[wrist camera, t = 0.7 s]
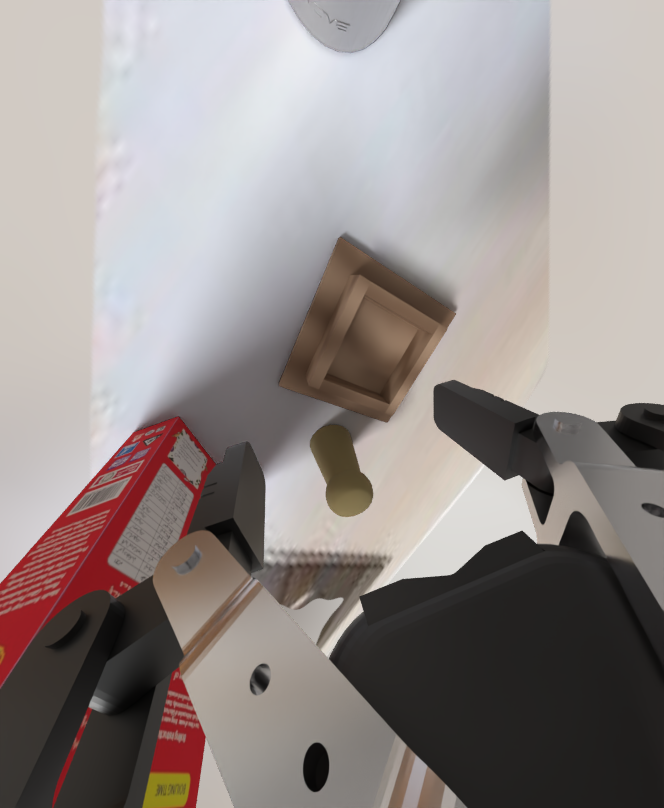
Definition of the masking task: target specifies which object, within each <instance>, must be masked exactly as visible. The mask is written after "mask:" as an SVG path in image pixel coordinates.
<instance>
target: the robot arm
mask: <svg viewBox="0 0 664 808" xmlns="http://www.w3.org/2000/svg"><path fill="white" fill-rule="evenodd" d="M288 1H289V3H290V5H291V7H292V8H293V10H294V12H295V14H296V15H297V17H298V19H299V20H300V22H301V23H302V24H303V25H304V27H305V28H306V29H307V30H308V31H309V33H310V34H311V35H312V36H313V37H314V38H316V39H317V40H318V41H319V42H321V43H322V44H323V45H324V46H326V47H329V48H331V49H333V50H335V51H338V52H349V53H351V52H355V51H359V50H362V49H364V48H366V47H367V46H369V45H370V44H372V43H373V42H375V41H376V39H377V38H378V37H379V36H380V35H381V34H382V32H383V31H384V30H385V29H386V27H387V25H388V23H389V22H390V20H391V18H392V16H393V14H394V12H395V10H396V8H397V6H398V4H399V2H400V0H288ZM434 421H435V423H436V425H437V427H438V428H439V429H440V430H441V431H442V432H443V433H445V434H446V435H447V436H449V437H450V438H451V439H452V440H454V441H455V442H456V443H457V444H459V445H460V446H461V447H463V448H464V449H465V450H466V451H468V452H469V453H470V454H472V455H473V456H474V457H475V458H477V459H478V460H479V461H480V462H482V463H483V464H484V465H486V466H487V467H488V468H490V469H491V470H492V471H493V472H495V473H496V474H497V475H498V476H500V477H501V478H502V479H503V480H507V479H510V478H512V477H515V476H518V475H520V476H521V477H523V480H522V488H523V492H524V495H525V498H526V501H527V504H528V507H529V511H530V514H531V517H532V520H533V524H534V527H535V530H536V534H537V544H536V543H535V542H534V541H533V540H532V539H530V537H528V536H527V535H526V534H525V533H524V532H523V531H520V532H518V533H515V534H513V535H510V536H508V537H505V538H503V539H501V540H498V541H496V542H493V543H491V544H488V545H485V546H484V547H483V548H482V549H481V550H480V551H479V552H478V553H477V554H475V555H474V556H473V557H472V558H471V559H470V560H469V561H468V562H467V563H466V564H465V565H464V566H463V567H462V568H460V569H459V570H458V571H457V572H456V573H454V574H452V575H448V576H435V577H425V578H424V577H423V578H411V579H402V580H399V581H397V582H394V583H392V584H389V585H387V586H384V587H382V588H379V589H377V590H375V591H372V592H370V593H367V594H365V595H362V596H360V600H361V604H362V607H363V611H364V612H362V613H361V614H360V615H359V616H358V617H357V618H356V619H355V620H354V621H353V622H352V623H351V624H350V625H349V626H348V628H347V629H346V630H345V631H344V633H343V634H342V636H341V637H340V639H339V640H338V642H337V644H336V646H335V648H334V649H333V651H332V653H331V655H330V657H329V659H328V658H327V657H326V655H325V654H324V653H323V652H322V651H321V650H320V649H319V648H318V647H317V645H316V644H315V643H314V642H313V641H312V640H311V639H310V638H309V637H308V636H307V634H306V633H305V632H304V631H303V630H302V629H301V628H300V627H299V625H298V624H297V623H296V622H295V621H294V620H293V619H292V618H291V617H290V615H289V614H288V613H287V612H286V611H285V610H284V609H283V608H282V607H281V605H280V604H279V603H278V602H277V601H276V600H275V599H274V598H273V597H272V595H271V594H270V593H269V592H268V591H267V590H266V589H265V588H264V587H263V585H262V584H261V583H260V582H259V581H258V580H257V579H256V578H252V577H251V573H253V572H256V571H258V570H261V569H263V562H264V524H265V479H264V475H263V472H262V469H261V467H260V465H259V463H258V461H257V458H256V456H255V454H254V452H253V449H252V447H251V445H250V444H249V442H244V443H240V444H237V445H234V446H231V447H228V448H227V450H226V453H225V457H224V460H223V462H222V463H219V464H216V465H215V467H214V468H213V469H212V470H211V472H210V473H209V474H208V475H207V478H206V481H205V484H204V489H203V490H202V492H201V495H200V497H201V498H200V499H199V501H198V504H197V507H196V509H195V512H194V515H193V518H192V521H191V524H190V526H189V529H188V532H187V535H186V536H185V537H183V538H181V539H180V540H179V541H177V542H176V543H175V544H174V545H172V546H171V547H170V548H169V549H168V550H167V551H166V553H165V554H164V555H163V556H162V558H161V559H160V561H159V562H158V564H157V566H156V568H155V571H154V574H153V575H152V576H150V577H149V578H147V579H146V580H144V581H142V582H141V583H139V584H138V585H136V586H134V587H133V588H131V589H130V590H128V591H126V592H125V593H123V594H122V595H120V596H118V597H117V598H115V597H114V596H112V595H111V594H110V593H109V592H107V591H105V590H95V591H92V592H89V593H87V594H85V595H83V596H81V597H79V598H78V599H76V600H74V601H73V602H71V603H70V604H69V605H67V606H66V607H65V608H63V609H62V610H61V611H60V612H59V613H57V614H56V615H55V616H54V617H53V618H52V619H51V620H50V621H49V622H48V623H47V624H46V625H45V626H44V627H43V628H42V629H41V630H40V632H39V633H38V634H37V635H36V637H35V638H34V639H33V640H32V642H31V643H30V645H29V646H28V648H27V649H26V651H25V652H24V654H23V655H22V657H21V658H20V660H19V661H18V663H17V664H16V666H15V667H14V669H13V670H12V672H11V673H10V675H9V677H8V678H7V680H6V681H5V683H4V684H3V686H2V687H1V689H0V808H52V805H53V798H54V793H55V789H56V786H57V783H58V780H59V777H60V775H61V772H62V770H63V767H64V765H65V763H66V760H67V758H68V755H69V753H70V750H71V748H72V745H73V743H74V741H75V738H76V736H77V733H78V731H79V728H80V726H81V723H82V721H83V719H84V716H85V714H86V711H87V709H88V707H89V708H92V711H91V714H90V716H89V719H88V721H87V724H86V726H85V729H84V731H83V734H82V736H81V739H80V741H79V744H78V746H77V749H76V751H75V754H74V756H73V759H72V761H71V764H70V766H69V769H68V772H67V774H66V777H65V779H64V782H63V784H62V787H61V789H60V792H59V794H58V797H57V799H56V802H55V804H54V807H53V808H142V807H143V802H144V798H145V793H146V789H147V784H148V780H149V775H150V771H151V766H152V762H153V757H154V753H155V748H156V744H157V739H158V735H159V730H160V726H161V721H162V716H163V712H164V707H165V703H166V698H167V694H168V689H169V685H170V680H171V676H172V672H173V671H175V670H176V669H177V668H178V667H179V668H180V673H181V676H182V679H183V682H184V684H185V687H186V689H187V692H188V694H189V697H190V699H191V702H192V704H193V707H194V709H195V712H196V714H197V716H198V719H199V721H200V724H201V726H202V729H203V731H204V734H205V736H206V739H207V741H208V744H209V746H210V749H211V751H212V754H213V756H214V758H215V761H216V764H217V766H218V768H219V771H220V773H221V776H222V778H223V781H224V783H225V786H226V788H227V791H228V793H229V796H230V798H231V801H232V803H233V806H234V808H664V405H660V404H649V403H635V404H629V405H625V406H623V407H622V408H621V410H620V413H619V415H618V418H617V420H616V421H607V422H595V421H593V420H591V419H589V418H586V417H584V416H580V415H577V414H572V413H565V412H549V413H544V414H542V415H538V414H536V413H534V412H531V411H529V410H526V409H525V408H522V407H520V406H518V405H515V404H513V403H511V402H509V401H506V400H505V401H504V400H503V399H502V398H500V397H497V396H494V395H493V394H490V393H488V392H486V391H484V390H480V389H475V388H471V387H469V386H467V385H465V384H463V383H460V382H458V381H456V380H451V381H448V382H444V383H441V384H438V385H436V386H435V387H434Z"/></svg>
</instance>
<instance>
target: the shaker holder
mask: <svg viewBox="0 0 664 808" xmlns="http://www.w3.org/2000/svg"><path fill="white" fill-rule="evenodd" d="M455 315H456V313H454V312H453V311H451V310H450V309H448V308H447V307H445V306H444V305H442V304H441V303H439V302H438V301H436V300H435V299H433V298H432V297H430V296H429V295H427V294H426V293H424V292H423V291H421V290H420V289H418V288H417V287H415V286H414V285H412V284H411V283H409V282H408V281H406V280H405V279H403V278H402V277H400V276H398V275H397V274H395V273H394V272H392V271H391V270H389V269H388V268H386V267H385V266H383V265H382V264H380V263H379V262H377V261H376V260H374V259H373V258H371V257H370V256H368V255H367V254H365V253H364V252H362V251H361V250H359V249H358V248H356V247H355V246H353V245H352V244H350V243H349V242H347V241H346V240H344V239H343V238H341V237H340V238H338V240H337V243H336V245H335V248H334V250H333V253H332V255H331V257H330V260H329V262H328V265H327V267H326V270H325V272H324V274H323V277H322V279H321V282H320V284H319V287H318V289H317V291H316V294H315V296H314V299H313V301H312V304H311V306H310V309H309V311H308V313H307V316H306V318H305V321H304V323H303V326H302V328H301V330H300V333H299V335H298V338H297V340H296V343H295V345H294V347H293V350H292V352H291V355H290V357H289V360H288V362H287V365H286V367H285V369H284V372H283V374H282V377H281V379H280V382H279V386H280V387H283V388H286V389H289V390H292V391H295V392H298V393H301V394H304V395H307V396H310V397H313V398H316V399H319V400H322V401H324V402H327V403H330V404H333V405H336V406H339V407H342V408H345V409H348V410H351V411H354V412H357V413H360V414H363V415H366V416H369V417H372V418H375V419H378V420H381V421H384V422H388V421H389V419H390V418H391V416H393V414H394V413H395V411H396V409H397V408H398V406H399V405H400V403H401V402H402V400H403V398H404V397H405V395H406V394H407V392H408V391H409V389H410V387H411V386H412V384H413V383H414V381H415V380H416V378H417V376H418V375H419V373H420V372H421V370H422V368H423V367H424V365H425V364H426V362H427V361H428V359H429V357H430V356H431V354H432V353H433V351H434V350H435V348H436V346H437V345H438V343H439V342H440V340H441V338H442V337H443V335H444V334H445V332H446V331H447V327H448V326H449V324H450V323H451V321H452V320H453V318H454V316H455Z"/></svg>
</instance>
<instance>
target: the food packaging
mask: <svg viewBox="0 0 664 808" xmlns="http://www.w3.org/2000/svg"><path fill="white" fill-rule="evenodd" d="M215 465H216V464H215V463H214V461H213V460H212V459H211V457H210V456H209V455H208V454H207V452H206V451H205V450H204V448H203V447H202V446H201V444H200V443H199V442H198V441H197V439H196V438H195V437H194V435H193V434H192V433H191V432H190V430H189V429H188V428H187V426H186V425H185V424H184V422H183V421H182V420H181V419H180V417H179V416H178V417H175V418H172V419H169V420H167V421H164V422H161V423H158V424H156V425H153V426H150V427H147V428H145V429H142V430H139V431H136V432H134V433H133V434H132V435H131V436H130V437H129V438H128V439H127V440H126V442H125V443H124V444H123V445H122V446H121V447H120V448H119V450H118V451H117V452H116V453H115V454H114V455H113V456H112V458H111V459H110V460H109V461H108V462H107V463H106V464H105V465H104V467H103V468H102V469H101V470H100V471H99V472H98V473H97V475H96V476H95V477H94V478H93V479H92V480H91V481H90V482H89V484H88V485H87V486H86V487H85V488H84V489H83V490H82V492H81V493H80V494H79V495H78V496H77V497H76V498H75V499H74V501H73V502H72V503H71V504H70V505H69V506H68V508H67V509H66V510H65V511H64V512H63V513H62V514H61V515H60V517H59V518H58V519H57V520H56V521H55V522H54V523H53V524H52V526H51V527H50V528H49V529H48V530H47V531H46V532H45V533H44V535H43V536H42V537H41V538H40V539H39V540H38V541H37V543H36V544H35V545H34V546H33V547H32V548H31V549H30V551H29V552H28V553H27V554H26V555H25V557H23V559H22V560H21V561H20V562H19V563H18V564H17V565H16V566H15V568H14V569H13V570H12V571H11V572H10V573H9V574H8V576H7V577H6V578H5V579H4V580H3V581H2V582H1V583H0V689H1V687H2V686H3V684H4V683H5V681H6V680H7V678H8V677H9V675H10V673H11V672H12V670H13V669H14V667H15V666H16V664H17V663H18V661H19V660H20V658H21V657H22V655H23V654H24V652H25V651H26V649H27V648H28V646H29V645H30V643H31V642H32V640H33V639H34V638H35V637H36V635H37V634H38V633H39V632H40V630H41V629H42V628H43V627H44V626H45V625H46V624H47V623H48V622H49V621H50V620H51V619H52V618H53V617H54V616H55V615H56V614H57V613H59V612H60V611H61V610H62V609H63V608H65V607H66V606H67V605H69V604H70V603H71V602H73V601H74V600H76V599H78V598H79V597H81V596H83V595H85V594H87V593H89V592H92V591H95V590H105V591H107V592H109V593H110V594H111V595H112V596H114V597H115V598H117V597H118V596H120V595H122V594H123V593H125V592H126V591H128V590H130V589H131V588H133V587H134V586H136V585H138V584H139V583H141V582H142V581H144V580H146V579H147V578H149V577H150V576H152V575H153V574H154V571H155V568H156V566H157V564H158V562H159V561H160V559H161V558H162V556H163V555H164V554H165V553H166V551H167V550H168V549H169V548H170V547H171V546H172V545H174V544H175V543H176V542H177V541H179V540H180V539H181V538H183V537H185V536H186V535H187V532H188V529H189V526H190V524H191V521H192V518H193V515H194V512H195V509H196V507H197V504H198V501H199V499H200V498H201V497H200V495H201V492H202V490H203V489H204V484H205V481H206V478H207V475H208V474H209V473H210V472H211V470H212V469H213V468H214V467H215ZM91 711H92V708H89V707H88V709H87V711H86V714H85V716H84V719H83V721H82V723H81V726H80V728H79V731H78V733H77V736H76V738H75V741H74V743H73V745H72V748H71V750H70V753H69V755H68V758H67V760H66V763H65V765H64V767H63V770H62V772H61V775H60V777H59V780H58V783H57V786H56V789H55V793H54V798H53V805H52V808H53V807H54V804H55V802H56V799H57V797H58V794H59V792H60V789H61V787H62V784H63V782H64V779H65V777H66V774H67V772H68V769H69V766H70V764H71V761H72V759H73V756H74V754H75V751H76V749H77V746H78V744H79V741H80V739H81V736H82V734H83V731H84V729H85V726H86V724H87V721H88V719H89V716H90V714H91ZM205 738H206V736H205V734H204V731H203V729H202V726H201V724H200V721H199V719H198V716H197V714H196V712H195V709H194V707H193V704H192V702H191V699H190V697H189V694H188V692H187V689H186V687H185V684H184V682H183V679H182V676H181V673H180V668H179V667H178V668H177V669H176V670H175V671H173V672H172V676H171V680H170V685H169V689H168V694H167V698H166V703H165V707H164V712H163V716H162V721H161V726H160V730H159V735H158V739H157V744H156V748H155V753H154V757H153V762H152V766H151V771H150V775H149V780H148V784H147V789H146V793H145V798H144V802H143V807H142V808H196V802H197V795H198V788H199V781H200V774H201V766H202V760H203V752H204V746H205Z"/></svg>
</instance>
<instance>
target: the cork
mask: <svg viewBox="0 0 664 808" xmlns="http://www.w3.org/2000/svg"><path fill="white" fill-rule="evenodd" d="M310 448H311V451H312V453H313V455H314V457H315V460H316V462H317V464H318V466H319V468H320V471H321V473H322V475H323V477H324V479H325V481H326V484H327V487H326V500H327V503H328V506H329V507H330V509H331V510H332V511H333V512H334V513H336V514H337V515H339V516H342V517H351V516H355V515H358V514H360V513H362V512H363V511H365V510H366V509H367V508H368V507H369V505H370V504H371V502H372V498H373V489H372V485H371V483H370V481H369V480H368V478H367V477H366V476H365V475H364V474H363V473H361V472H360V468H359V465H358V461H357V457H356V454H355V450H354V447H353V443H352V439H351V436H350V433H349V432H348V430H347V429H346V428H344V427H343V426H339V425H328V426H325V427H322V428H321V429H319V430H317V431H316V433H315V434H314V435H313V436H312V438H311V441H310Z"/></svg>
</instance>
